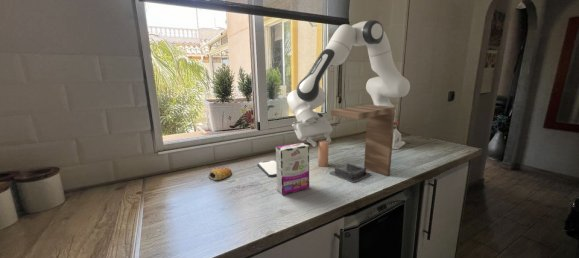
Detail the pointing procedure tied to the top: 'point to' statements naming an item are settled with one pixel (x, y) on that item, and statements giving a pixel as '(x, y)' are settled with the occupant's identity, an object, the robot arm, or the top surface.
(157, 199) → the top surface
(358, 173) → the tray
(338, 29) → the robot arm
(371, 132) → the walnut shelf
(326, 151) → the terracotta spice jar
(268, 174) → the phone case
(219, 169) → the pastry
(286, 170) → the candy bar box
